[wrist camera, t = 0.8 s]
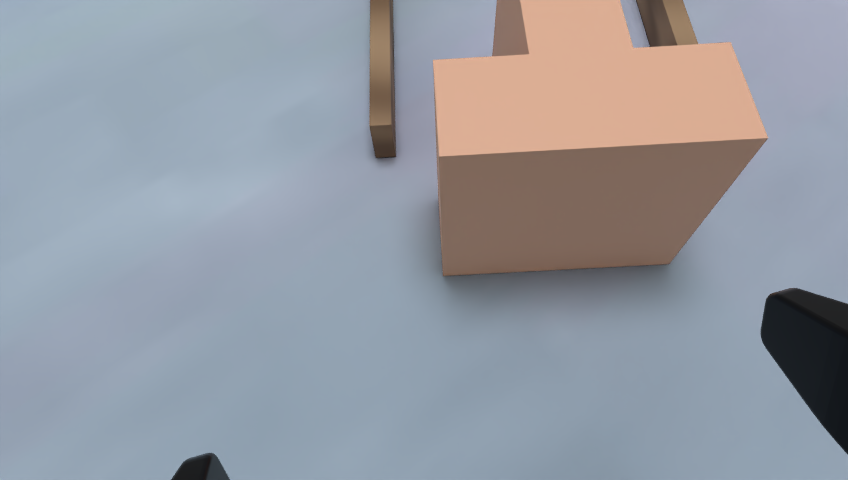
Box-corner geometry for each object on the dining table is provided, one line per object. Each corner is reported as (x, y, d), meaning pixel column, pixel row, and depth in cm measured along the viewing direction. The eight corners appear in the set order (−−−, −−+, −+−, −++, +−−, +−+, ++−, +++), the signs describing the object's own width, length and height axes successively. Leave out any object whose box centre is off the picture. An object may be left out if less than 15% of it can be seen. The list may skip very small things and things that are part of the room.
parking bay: (699, 139, 28) (719, 105, 26) (375, 157, 29) (369, 125, 27) (632, -68, 36) (644, -108, 34) (375, -52, 36) (371, -90, 34)
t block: (669, 263, 26) (768, 137, 18) (443, 275, 26) (439, 156, 18) (616, 62, 31) (673, -104, 23) (431, 73, 31) (424, -87, 23)
